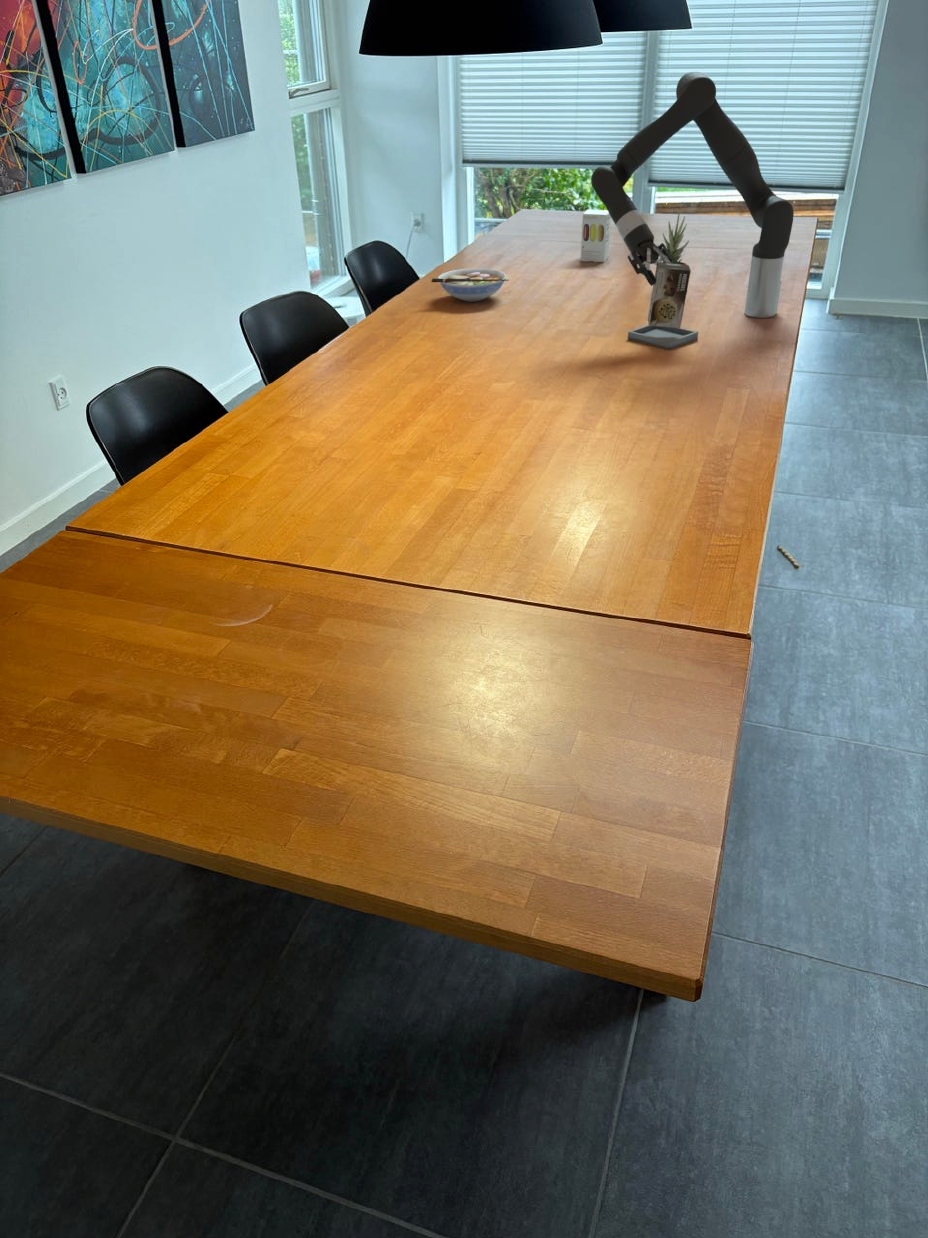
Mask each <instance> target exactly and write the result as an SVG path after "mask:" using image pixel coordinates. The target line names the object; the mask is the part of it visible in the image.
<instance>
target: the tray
mask: <svg viewBox="0 0 928 1238" xmlns="http://www.w3.org/2000/svg"><path fill="white" fill-rule="evenodd" d="M698 338H699V331H696V330H691V329H688V328H683V327H680V328H672V327H660V326H649V324H647V325H644V326H640V327H638V328H635V329H632V330H629V331H628V332H627V340H630V341H633V342H637V343H641V344H645V345H649V346H652V347H657V348H659V349H663V350H667V351H670V350H673V349H676V348H679V347H681V346H685V345H687V344H690V343H692V342H695V341H697V340H698Z"/></svg>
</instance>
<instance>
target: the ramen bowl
mask: <svg viewBox="0 0 928 1238" xmlns="http://www.w3.org/2000/svg"><path fill="white" fill-rule="evenodd" d="M507 281H509V279H507V275H506V273H505V272H503V271H500V270H497V269H491V268H481V267H480V268H475V267H473V268H460V269H454V270H450V271H447V272H442V273H441V274H440V275H439V276H437V278H432V279H431V283H440V285H441V286H442V289H443V290H444V291H445V292H446V293H447V294H449V295H450V296H451V297H453V298H456V299H459V300H461V301H463V302H466V303H467V302H468V303H469V302H470V303H473V302H475V303H476V302H480V301H484V299H486V298H489V297H491V296H493V295H494V294H496V293H497V292H498V291H499V290H500V289H501V288H502V286H503V285H504V282H507Z"/></svg>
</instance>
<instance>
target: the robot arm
mask: <svg viewBox="0 0 928 1238" xmlns="http://www.w3.org/2000/svg"><path fill="white" fill-rule="evenodd" d="M675 91H676V92H675V95H676V96H675V97H676V100H675V102H674V103H673V104H672V105H670V107H668V109H667V110H666V111H665V112H664V113H662V114H661V116H659V117H658V118H657V119H655V120H654V121H652V122H651V123H649V124H648V125H646V126H645V127H644V128H642V129H641V130H640V131H638V132H637V133H636V134H635V135H633V137H632V138H630V140H628V142H626V143H625V145H623V146H622V147H621V149H620V150H619V151H618V152H617V154H616V160H615V161H614V162H613V163H612V165H611V166H607V165H601V166H598V167H597V168H595V169H594V171H593V172H592V174H591V176H590V177H591V178H590V183H591V187H592V188H593V190H594V192H595V194H596V195H597V197H598V199H600V201H601V202H602V204H603V205H604V206H605V208H606V210H608V212H609V214H610V216H611V221H613V223H614V225H615V227H616V229H617V232H618V234H619V235H620V237H621V239H622V240H623V242H624V244H625V246H626V247H627V249H628V251H629V252H630V254H629V255H627V259H628V261H629V263H630V265H631V266H632V268H633V271H634V272H635V273H636V275H640V274H641V275H643V276H644V278H645V279H646V281H647V282H648V284H649V285H650V286H652V287H653V285H654V284H655V283H656V278H655V274H654V273H653V270H652V269H651V266H650V264H651V265H652V264H654V265H655V266H657V262H659V263H662V262H664V263H671V262H672V261H673V258H672V256H671V255H670V253H669V251H668V250H667V246H666V244H664V243H663V242H661V243H660V244H659V245H656V244H655V242H654V240H655V235H654V234H653V232H652V230H651V228H650V227H649V225H648V224H647V221H646V220H645V219H644V217H643V215H642V214H641V213H640V212H639V210H638V208H637V206H636V205H635V203H634V202H633V200H632V199H631V197H630V196H629V194H627V192H626V191H625V188H624V187H625V185H626V184H627V182H629V180H630V179H631V178H632V176H633V174H635V172H636V171H637V170H638V169H639V168H640V167H641V166H643V164H644V163H646V161H648V160H649V159H650V158H651V157H652V155H654V153H656V152H657V151H658V149H660V147H662V146H663V145H664V144H665V143H667V141H669V139H671V138H672V137H673V136H674V135H675V134H677V133H678V132H679V131H680V130H682V129H683V128H684V127H686V126H687V125H688V124H689V123H691V122H692V121H693V122H694V123H695V125H696V126H697V127H698V129H699V130H700V132H701V134H702V136H703V138H704V140H705V143H706V144H707V145H708V148H709V150H710V151H711V153H712V155H713V157H714V158H715V160H716V162H717V164H718V165H719V166H720V168H721V169H722V171H723V173H724V174H725V176H726V177H727V178H728V180H729V181H730V182H731V184H732V185H733V187H734V188H735V189H736V190H737V192H738V193H739V194H740V196H741V197H742V199H743V201H744V203H745V204H746V207H747V209H748V211H749V214H750V215H751V218H752V219H753V221H754V223H755V224H756V226H757V227H759V228H760V236H759V241H758V242H756V243H755V244H754V245H753V247H752V253H751V260H750V268H749V276H748V283H747V284H748V285H747V291H746V298H745V299H746V300H745V304H744V305H745V307H744V315H745V316H747V317H751V318H760V319H765V318H772V317H774V316H775V315H776V313H778V306H779V299H780V292H781V287H782V281H781V280H782V272H783V266H784V265H783V264H784V258H785V252H786V250H787V248H788V246H789V243H790V239H791V233H792V228H793V223H794V216H795V215H794V213H795V211H794V208H793V205H792V203H790V201H788V199H787V200H786V199H784V198H782V197H780V196H777V195H776V194H775V193H774V192H773V191H772V188H770V187H769V185H768V184H767V183H766V181H765V179H764V177H763V175H762V173H761V167H760V164H759V159H758V158H757V155H756V152H755V151H754V149H753V147H752V146H751V144H750V142H749V141H748V140H747V139H748V138H747V137H746V136H745V135H744V133H743V132H742V130H741V129H740V128H739V127H738V126H737V124H735V123H734V122H733V120H732V119H731V118H730V117H729V116H728V115H727V113H726V112H724V110H723V109H722V107H721V105H720V104H719V102H718V100H717V99H716V96H717V87H716V84H715V82H714V80H713V79H711V78H710V77H709V76H708V75H706V74H705V73H702V72H699V71H689V72H686V73H685V74H683V75H682V76H681V77H680V79H679V80H678V82H677V85H676V89H675ZM666 256H667V257H668V259H666Z"/></svg>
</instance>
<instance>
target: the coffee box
mask: <svg viewBox="0 0 928 1238" xmlns="http://www.w3.org/2000/svg"><path fill="white" fill-rule="evenodd" d="M655 266H656V268H655V274H654V276H655V278H656V283H655V284H654V285H652V291H651V296H650V297H651V298H650V302H649V303H650V304H649V308H648V309H649V310H648V315H647V325H649V326H660V327H672V328H682V327H681V326H682V320H683V316H684V315H683V314H684V309H685V305H686V304H685V303H686V298H687V294H688V288H689V281H690V277H691V268H690V265H689V264H687V265H684V264H672V263H659V262H657V265H655Z"/></svg>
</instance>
